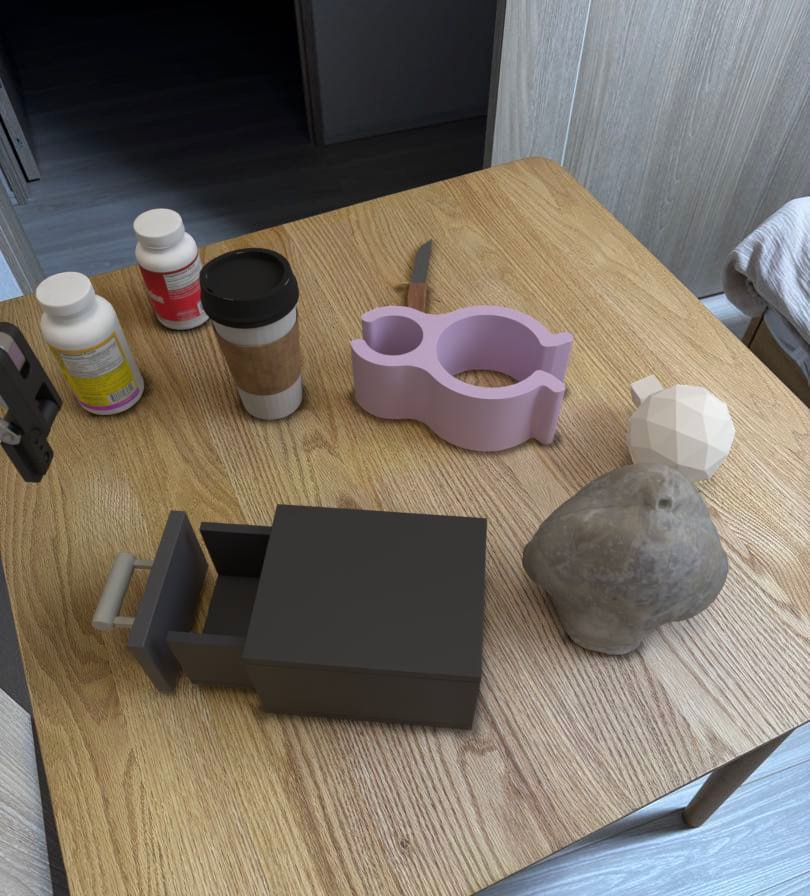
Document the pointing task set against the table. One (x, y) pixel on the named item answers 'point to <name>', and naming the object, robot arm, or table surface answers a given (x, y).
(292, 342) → the coffee cup
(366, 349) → the clip
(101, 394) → the supplement bottle
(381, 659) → the dark grey drawer box
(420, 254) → the knife
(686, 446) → the perfume bottle
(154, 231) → the pill bottle
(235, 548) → the dark brown drawer
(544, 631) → the table surface
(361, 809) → the table surface
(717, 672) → the table surface
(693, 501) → the decorative stone
